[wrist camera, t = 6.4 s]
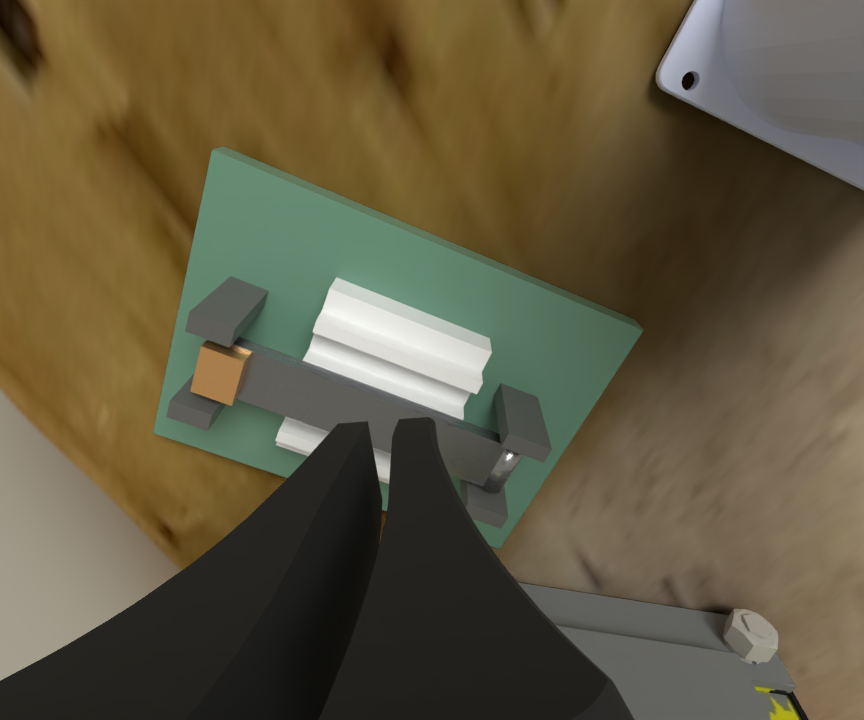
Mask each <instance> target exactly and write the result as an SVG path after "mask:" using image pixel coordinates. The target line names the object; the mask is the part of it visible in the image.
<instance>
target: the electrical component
mask: <svg viewBox="0 0 864 720" xmlns="http://www.w3.org/2000/svg"><path fill="white" fill-rule="evenodd" d="M518 584H519V585H520V586H521V587H522V588H523V590H524V591H525V592H526V593H527V594H528V596H529V597H530V598H531V599H532V600H533V602H534V603H535V604H536V605H537V606H538V607H539V609H540V610H541V611H542V612H543V613H544V614H545V615H546V616H547V617H548V618H549V619H550V620H551V621H552V622H553V623H554V624H555V625H556V627H557V628H558V629H559V630H560V631H561V632H562V633H563V634H564V635H565V636H566V637H567V638H568V639H569V640H570V641H571V642H572V643H573V644H574V645H575V646H576V647H577V648H578V649H579V650H580V651H581V652H583V653H584V654H585V655H586V656H587V657H588V658H589V659H590V660H591V661H592V662H593V663H594V664H595V665H596V666H598V667H599V668H600V669H601V670H602V671H603V672H604V673H605V674H606V675H607V676H608V677H609V678H611V680H612V681H613V682H614V684H615V686H616V687H617V689H618V691H619V693H620V694H621V696H622V698H623V700H624V702H625V703H626V705H627V707H628V709H629V710H630V712H631V714H632V716H633V718H634V720H808V718H807V716H806V714H805V712H804V711H803V709H802V707H801V705H800V704H799V702H798V700H797V698H796V696H795V695H794V693H793V690H794V689H795V688H796V685H795V684H794V682H793V680H792V678H791V677H790V675H789V673H788V671H787V670H786V668H785V666H784V664H783V663H782V661H781V659H780V658H779V656H778V654H777V652H776V651H777V648H778V632H777V631H776V630H775V629H774V627H773V626H772V625H771V624H770V623H769V622H768V621H767V620H766V619H764V618H763V617H762V616H760V615H759V614H758V613H756V612H753V611H750V610H746V609H733V611H732V612H731V614H730V615H723V614H717V613H710V612H704V611H698V610H691V609H685V608H678V607H672V606H666V605H659V604H653V603H646V602H640V601H633V600H627V599H621V598H614V597H608V596H601V595H595V594H589V593H582V592H576V591H569V590H563V589H557V588H550V587H544V586H537V585H531V584H524V583H518Z"/></svg>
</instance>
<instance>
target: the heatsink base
mask: <svg viewBox="0 0 864 720" xmlns="http://www.w3.org/2000/svg"><path fill="white" fill-rule="evenodd" d="M643 331H644V330H643V329H642V328H641V326H640V325H639V324H638V323H637V321H636V320H634V319H632V318H630V317H627V316H625V315H623V314H620V313H618V312H616V311H613V310H611V309H608V308H606V307H604V306H601V305H599V304H597V303H594V302H592V301H589V300H587V299H585V298H582V297H580V296H578V295H575V294H573V293H570V292H568V291H566V290H563V289H561V288H559V287H556V286H554V285H551V284H549V283H547V282H544V281H542V280H540V279H537V278H535V277H532V276H530V275H528V274H525V273H523V272H521V271H518V270H516V269H513V268H511V267H509V266H506V265H504V264H502V263H499V262H497V261H495V260H492V259H490V258H487V257H485V256H483V255H480V254H478V253H476V252H473V251H471V250H468V249H466V248H464V247H461V246H459V245H457V244H454V243H452V242H449V241H447V240H445V239H442V238H440V237H438V236H435V235H433V234H430V233H428V232H426V231H423V230H421V229H419V228H416V227H414V226H411V225H409V224H407V223H404V222H402V221H400V220H397V219H395V218H393V217H390V216H388V215H385V214H383V213H381V212H378V211H376V210H374V209H371V208H369V207H366V206H364V205H362V204H359V203H357V202H355V201H352V200H350V199H347V198H345V197H343V196H340V195H338V194H336V193H333V192H331V191H328V190H326V189H324V188H321V187H319V186H317V185H314V184H312V183H309V182H307V181H305V180H302V179H300V178H298V177H295V176H293V175H290V174H288V173H286V172H283V171H281V170H279V169H276V168H274V167H272V166H269V165H267V164H264V163H262V162H260V161H257V160H255V159H253V158H250V157H248V156H245V155H243V154H241V153H238V152H236V151H234V150H231V149H229V148H226V147H220V148H216V149H212V153H211V158H210V162H209V167H208V172H207V177H206V182H205V186H204V191H203V196H202V201H201V206H200V210H199V215H198V220H197V225H196V230H195V234H194V239H193V244H192V249H191V254H190V258H189V263H188V268H187V273H186V278H185V282H184V287H183V292H182V297H181V301H180V306H179V311H178V316H177V321H176V325H175V330H174V335H173V340H172V345H171V349H170V354H169V359H168V364H167V369H166V373H165V378H164V383H163V388H162V393H161V397H160V402H159V407H158V412H157V417H156V421H155V426H154V431H153V433H154V434H157V435H160V436H163V437H166V438H169V439H172V440H175V441H178V442H181V443H184V444H187V445H190V446H193V447H196V448H199V449H202V450H205V451H208V452H211V453H214V454H217V455H220V456H223V457H226V458H229V459H232V460H235V461H238V462H241V463H244V464H247V465H250V466H253V467H256V468H259V469H262V470H265V471H268V472H271V473H274V474H277V475H280V476H283V477H286V478H289V477H290V475H291V474H292V473H293V472H294V471H295V470H296V469H297V468H298V467H299V466H300V465H301V464H302V463H303V462H304V460H305V459H306V458H307V457H308V456H309V455H310V454H311V453H312V452H313V450H314V449H315V448H316V447H317V446H318V445H319V444H320V443H321V442H322V441H323V439H324V438H325V437H326V436H327V435H328V434H329V433H330V432H328V431H325V430H323V429H320V428H317V427H314V426H311V425H309V424H306V423H303V422H300V421H297V420H295V419H292V418H289V417H286V416H283V415H281V414H278V413H275V412H272V411H269V410H267V409H264V408H261V407H258V406H255V405H253V404H250V403H247V402H244V401H241V400H239V399H236V401H235V402H234V403H233V405H232V406H230V405H227V404H224V403H222V402H219V401H216V400H213V399H210V398H207V397H205V396H202V395H199V394H196V393H193V392H191V391H190V390H191V386H192V382H193V377H194V373H195V369H196V365H197V361H198V356H199V352H200V348H201V346H202V345H203V344H204V342H205V341H206V340H210V341H213V342H215V343H218V344H221V345H224V346H226V347H229V348H230V347H231V346H232V344H233V343H234V342H235V341H236V340H237V339H238V337H242V338H244V339H247V340H250V341H252V342H255V343H258V344H260V345H263V346H266V347H268V348H271V349H274V350H276V351H279V352H282V353H284V354H287V355H290V356H292V357H295V358H298V359H300V360H303V361H306V362H308V363H311V364H314V365H316V366H319V367H322V368H325V369H327V370H330V371H333V372H335V373H338V374H341V375H343V376H346V377H349V378H351V379H354V380H357V381H359V382H362V383H365V384H367V385H370V386H373V387H375V388H378V389H381V390H383V391H386V392H389V393H391V394H394V395H397V396H399V397H402V398H405V399H407V400H410V401H413V402H415V403H418V404H421V405H423V406H426V407H429V408H431V409H434V410H437V411H439V412H442V413H445V414H448V415H450V416H453V417H456V418H458V419H461V420H464V421H466V422H469V423H472V424H474V425H477V426H480V427H482V428H485V429H488V430H490V431H493V432H496V433H498V434H499V435H500V442H501V447H502V448H505V449H508V450H510V451H513V452H516V453H519V454H521V455H523V456H522V458H521V459H520V461H519V463H518V464H517V466H516V467H515V469H514V471H513V472H512V474H511V476H510V477H509V479H508V480H507V482H506V484H505V485H504V487H503V489H502V490H501V492H499V493H492V492H489V491H487V490H486V489H485V488H484V487H482V486H479V485H477V484H474V483H471V482H468V481H465V480H463V479H460V478H457V477H454V476H451V475H449V476H450V478H451V480H452V483H453V485H454V487H455V489H456V491H457V493H458V495H459V497H460V499H461V500H462V502H463V504H464V506H465V508H466V510H467V511H468V513H469V515H470V516H471V518H472V520H473V522H474V523H475V525H476V526H477V528H478V530H479V531H480V533H481V534H482V536H483V537H484V539H485V540H486V542H487V543H488V545H489V546H492V547H495V548H498V549H500V548H501V547H502V545H503V544H504V542H505V541H506V539H507V538H508V536H509V535H510V533H511V532H512V530H513V528H514V527H515V525H516V524H517V522H518V521H519V519H520V518H521V516H522V515H523V513H524V512H525V510H526V509H527V507H528V506H529V504H530V503H531V501H532V500H533V498H534V497H535V495H536V493H537V492H538V490H539V489H540V487H541V486H542V484H543V483H544V481H545V480H546V478H547V477H548V475H549V474H550V472H551V471H552V469H553V468H554V466H555V465H556V463H557V462H558V460H559V458H560V457H561V455H562V454H563V452H564V451H565V449H566V448H567V446H568V445H569V443H570V442H571V440H572V439H573V437H574V436H575V434H576V433H577V431H578V430H579V428H580V427H581V425H582V424H583V422H584V420H585V419H586V417H587V416H588V414H589V413H590V411H591V410H592V408H593V407H594V405H595V404H596V402H597V401H598V399H599V398H600V396H601V395H602V393H603V392H604V390H605V389H606V387H607V385H608V384H609V382H610V381H611V379H612V378H613V376H614V375H615V373H616V372H617V370H618V369H619V367H620V366H621V364H622V363H623V361H624V360H625V358H626V357H627V355H628V354H629V352H630V350H631V349H632V347H633V346H634V344H635V343H636V341H637V340H638V338H639V337H640V335H641V334H642V332H643ZM373 451H374V457H375V462H376V467H377V473H378V478H379V484H380V489H381V494H382V500H383V502H382V510H384V511H387V507H388V495H389V478H390V461H391V454H390V453H387V452H384V451H381V450H379V449H376V448H373Z"/></svg>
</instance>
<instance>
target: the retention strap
mask: <svg viewBox="0 0 864 720" xmlns="http://www.w3.org/2000/svg"><path fill="white" fill-rule="evenodd" d="M190 391H191V392H193V393H196V394H199V395H202V396H205V397H207V398H210V399H213V400H216V401H219V402H222V403H224V404H227V405H230V406H232V405H233V403H234V402H235V401H236V399H239V400H241V401H244V402H247V403H250V404H253V405H255V406H258V407H261V408H264V409H267V410H269V411H272V412H275V413H278V414H281V415H283V416H286V417H289V418H292V419H295V420H297V421H300V422H303V423H306V424H309V425H311V426H314V427H317V428H320V429H323V430H325V431H328V432H331V431H332V430H333V428H334V427H335V426H336V425H337V424H338V423H351V422H365V421H368V424H369V430H370V435H371V441H372V446H373V448H376V449H379V450H381V451H384V452H387V453H390V454H391V446H392V436H393V433H394V430H395V427H396V425H397V422H398V420H399V419H407V418H421V417H430V418H431V419H433V420H434V421H435V423H436V431H437V440H438V447H439V450H440V453H441V456H442V459H443V462H444V464H445V466H446V469H447V471H448V473H449V475H451V476H454V477H457V478H460V479H463V480H465V481H468V482H471V483H474V484H477V485H479V486H482V487H484V488H485V489H486V490H487V491H489V492H492V493H499V492H501V490H502V489H503V487H504V485H505V484H506V482H507V480H508V479H509V477H510V476H511V474H512V472H513V471H514V469H515V467H516V466H517V464H518V463H519V461H520V459H521V458H522V456H523V455H521V454H519V453H516V452H513V451H510V450H508V449H505V448H502V447H501V442H500V435H499V434H498V433H496V432H493V431H490V430H488V429H485V428H482V427H480V426H477V425H474V424H472V423H469V422H466V421H464V420H461V419H458V418H456V417H453V416H450V415H448V414H445V413H442V412H439V411H437V410H434V409H431V408H429V407H426V406H423V405H421V404H418V403H415V402H413V401H410V400H407V399H405V398H402V397H399V396H397V395H394V394H391V393H389V392H386V391H383V390H381V389H378V388H375V387H373V386H370V385H367V384H365V383H362V382H359V381H357V380H354V379H351V378H349V377H346V376H343V375H341V374H338V373H335V372H333V371H330V370H327V369H325V368H322V367H319V366H316V365H314V364H311V363H308V362H306V361H303V360H300V359H298V358H295V357H292V356H290V355H287V354H284V353H282V352H279V351H276V350H274V349H271V348H268V347H266V346H263V345H260V344H258V343H255V342H252V341H250V340H247V339H244V338H242V337H238V339H237V340H236V341H235V342H234V343H233V344H232V346H231V347H230V348H229V347H226V346H224V345H221V344H218V343H215V342H213V341H210V340H206V341H205V342H204V344H203V345H202V346H201V348H200V352H199V356H198V361H197V365H196V369H195V373H194V377H193V382H192V386H191V390H190Z"/></svg>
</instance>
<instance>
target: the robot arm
mask: <svg viewBox="0 0 864 720" xmlns="http://www.w3.org/2000/svg"><path fill="white" fill-rule="evenodd" d="M688 72H691V73H692V74H693V75H694V83H693V85H692V86H691V87H690V89H688V90H685V89H684V88H683V87H682V83H681V82H682V79H683V76H684V75H685V74H686V73H688ZM656 83H657V85H658V87H659V88H660V89H661V90H663V91H664V92H666V93H668V94H670V95H672V96H674V97H676V98H678V99H680V100H682V101H684V102H686V103H688V104H690V105H692V106H694V107H696V108H698V109H700V110H702V111H704V112H706V113H708V114H710V115H712V116H715V117H717V118H719V119H721V120H723V121H725V122H727V123H729V124H731V125H733V126H735V127H737V128H739V129H741V130H743V131H745V132H747V133H749V134H751V135H753V136H755V137H757V138H759V139H761V140H763V141H765V142H767V143H769V144H771V145H773V146H775V147H777V148H779V149H781V150H783V151H785V152H787V153H789V154H791V155H793V156H795V157H797V158H799V159H801V160H803V161H805V162H807V163H809V164H811V165H813V166H815V167H817V168H819V169H821V170H823V171H825V172H827V173H829V174H831V175H833V176H835V177H837V178H839V179H841V180H843V181H845V182H847V183H849V184H851V185H853V186H855V187H857V188H859V189H861V190H863V191H864V0H694V1H693V3H692V5H691V7H690V8H689V10H688V12H687V14H686V16H685V18H684V20H683V22H682V23H681V25H680V27H679V29H678V31H677V33H676V35H675V36H674V38H673V40H672V42H671V44H670V46H669V48H668V49H667V51H666V53H665V55H664V57H663V59H662V61H661V63H660V64H659V66H658V69H657V72H656ZM382 502H383V500H382V494H381V489H380V484H379V478H378V473H377V467H376V462H375V457H374V451H373V446H372V441H371V435H370V430H369V424H368V421H365V422H351V423H338V424H337V425H336V426H335V427H334V428H333V430H332V431H331V432H330V433H329V434H328V435H327V436H326V437H325V438H324V439H323V441H322V442H321V443H320V444H319V445H318V446H317V447H316V448H315V449H314V450H313V452H312V453H311V454H310V455H309V456H308V457H307V458H306V459H305V460H304V462H303V463H302V464H301V465H300V466H299V467H298V468H297V469H296V470H295V471H294V472H293V473H292V474H291V475H290V477H289V478H288V479H287V480H286V481H285V482H284V483H283V484H282V485H281V486H280V487H279V488H278V489H277V490H276V491H275V492H274V493H273V494H272V495H271V496H270V497H269V498H267V499H266V500H265V501H264V502H263V503H262V504H261V505H260V506H259V507H258V508H257V509H256V510H255V511H254V512H253V513H252V514H251V515H250V516H249V517H248V518H247V519H246V520H244V521H243V522H242V523H241V524H240V525H239V526H238V527H237V528H235V529H234V530H233V531H232V532H231V533H229V534H228V535H227V536H226V537H225V538H224V539H222V540H221V541H220V542H219V543H217V544H216V545H215V546H214V547H212V548H211V549H210V550H209V551H207V552H206V553H205V554H204V555H202V556H201V557H200V558H199V559H197V560H196V561H195V562H193V563H192V564H191V565H189V566H188V567H186V568H185V569H184V570H182V571H181V572H179V573H178V574H176V575H175V576H174V577H172V578H171V579H169V580H168V581H167V582H165V583H164V584H162V585H161V586H160V587H158V588H157V589H155V590H154V591H152V592H151V593H149V594H148V595H147V596H145V597H144V598H142V599H141V600H139V601H138V602H136V603H135V604H133V605H132V606H130V607H129V608H127V609H126V610H124V611H122V612H121V613H119V614H117V615H116V616H114V617H113V618H111V619H110V620H108V621H106V622H105V623H103V624H102V625H100V626H98V627H96V628H95V629H93V630H91V631H90V632H88V633H86V634H85V635H83V636H81V637H80V638H78V639H76V640H75V641H73V642H71V643H69V644H68V645H66V646H64V647H62V648H61V649H59V650H57V651H55V652H54V653H52V654H50V655H48V656H46V657H44V658H43V659H41V660H39V661H37V662H35V663H33V664H31V665H29V666H27V667H26V668H24V669H22V670H20V671H18V672H16V673H14V674H12V675H11V676H9V677H7V678H5V679H3V680H1V681H0V720H634V718H633V716H632V714H631V712H630V710H629V709H628V707H627V705H626V703H625V702H624V700H623V698H622V696H621V694H620V693H619V691H618V689H617V687H616V686H615V684H614V682H613V681H612V680H611V678H609V677H608V676H607V675H606V674H605V673H604V672H603V671H602V670H601V669H600V668H599V667H598V666H596V665H595V664H594V663H593V662H592V661H591V660H590V659H589V658H588V657H587V656H586V655H585V654H584V653H583V652H581V651H580V650H579V649H578V648H577V647H576V646H575V645H574V644H573V643H572V642H571V641H570V640H569V639H568V638H567V637H566V636H565V635H564V634H563V633H562V632H561V631H560V630H559V629H558V628H557V627H556V625H555V624H554V623H553V622H552V621H551V620H550V619H549V618H548V617H547V616H546V615H545V614H544V613H543V612H542V611H541V610H540V609H539V607H538V606H537V605H536V604H535V603H534V602H533V600H532V599H531V598H530V597H529V596H528V594H527V593H526V592H525V591H524V590H523V588H522V587H521V586H520V585H519V584H518V582H517V581H516V580H515V579H514V578H513V577H512V575H511V574H510V573H509V572H508V571H507V569H506V568H505V567H504V565H503V564H502V563H501V561H500V560H499V558H498V557H497V556H496V554H495V553H494V552H493V550H492V549H491V548H490V546H489V545H488V543H487V542H486V540H485V539H484V537H483V536H482V534H481V533H480V531H479V530H478V528H477V526H476V525H475V523H474V522H473V520H472V518H471V516H470V515H469V513H468V511H467V510H466V508H465V506H464V504H463V502H462V500H461V499H460V497H459V495H458V493H457V491H456V489H455V487H454V485H453V483H452V480H451V478H450V476H449V473H448V471H447V469H446V466H445V464H444V462H443V459H442V456H441V453H440V450H439V447H438V440H437V431H436V423H435V421H434V420H433V419H431V418H430V417H421V418H407V419H399V420H398V422H397V425H396V427H395V430H394V433H393V436H392V446H391V461H390V478H389V495H388V507H387V514H386V521H385V525H384V529H383V533H382V537H381V541H380V545H379V540H380V529H381V516H382ZM378 548H379V549H378ZM377 553H378V554H377Z"/></svg>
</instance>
